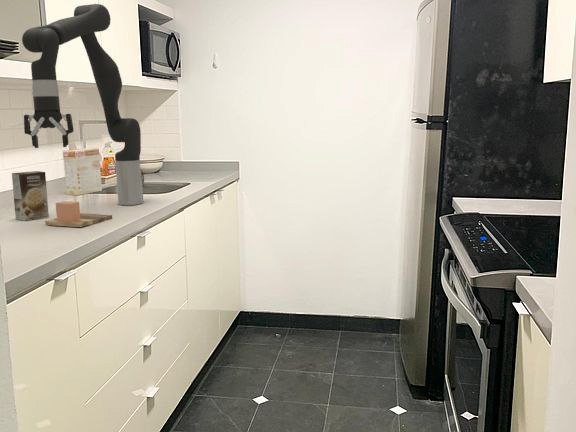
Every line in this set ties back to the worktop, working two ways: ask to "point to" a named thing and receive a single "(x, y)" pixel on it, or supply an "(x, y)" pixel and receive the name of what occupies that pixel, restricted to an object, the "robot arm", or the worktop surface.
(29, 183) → the coffee box
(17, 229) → the worktop surface
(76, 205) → the stub
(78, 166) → the coffeecake box
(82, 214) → the brown notebook
